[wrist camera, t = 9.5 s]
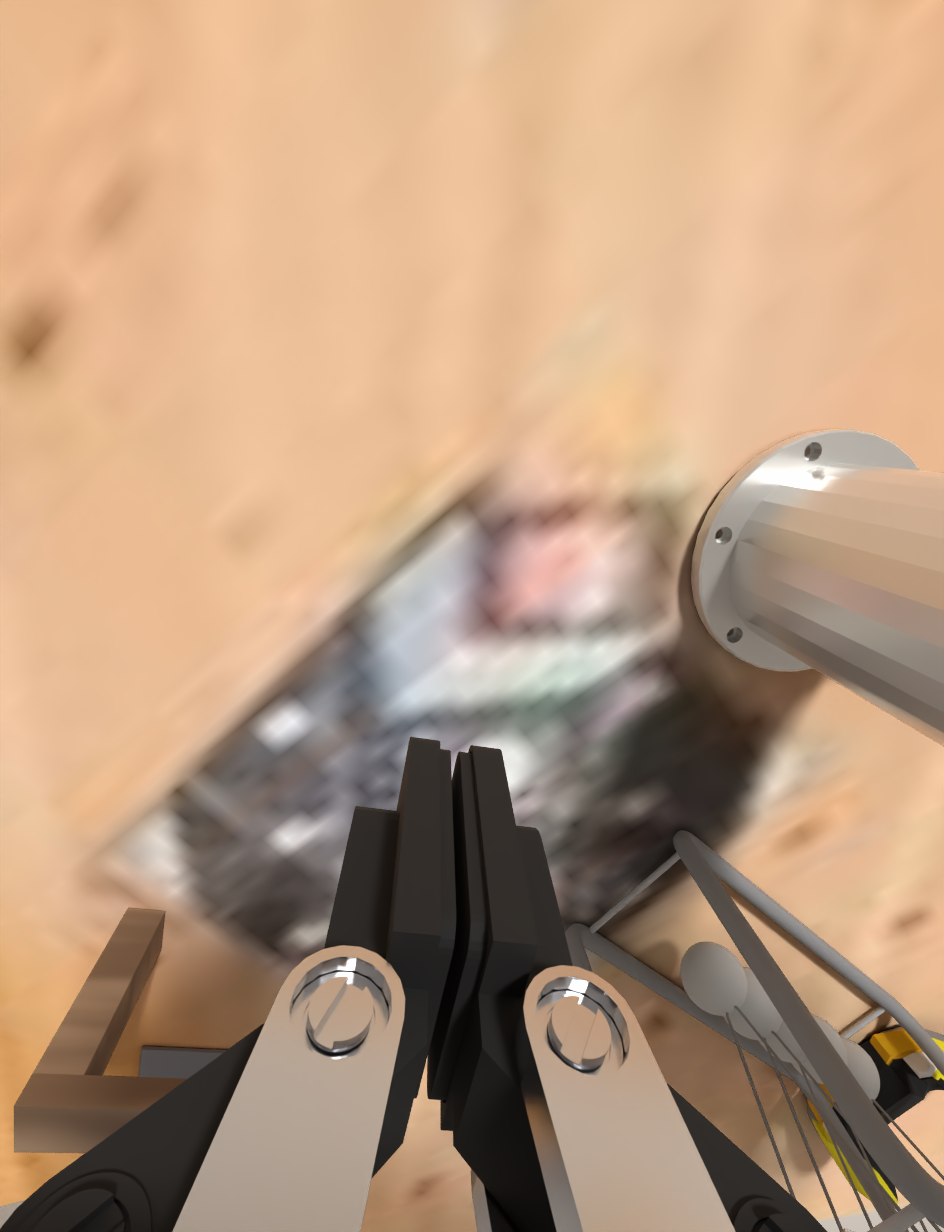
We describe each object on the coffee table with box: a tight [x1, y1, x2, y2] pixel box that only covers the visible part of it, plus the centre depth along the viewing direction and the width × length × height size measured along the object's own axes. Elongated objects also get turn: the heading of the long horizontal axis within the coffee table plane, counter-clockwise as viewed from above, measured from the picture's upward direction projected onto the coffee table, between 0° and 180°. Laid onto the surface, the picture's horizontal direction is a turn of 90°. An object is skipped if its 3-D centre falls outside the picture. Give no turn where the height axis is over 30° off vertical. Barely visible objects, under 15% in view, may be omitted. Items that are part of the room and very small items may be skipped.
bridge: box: [14, 908, 187, 1153], centre depth 28 cm, size 3×15×10 cm, turn 76°
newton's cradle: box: [565, 830, 944, 1232], centre depth 31 cm, size 30×10×18 cm, turn 48°
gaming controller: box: [807, 1026, 944, 1207], centre depth 43 cm, size 15×6×10 cm
